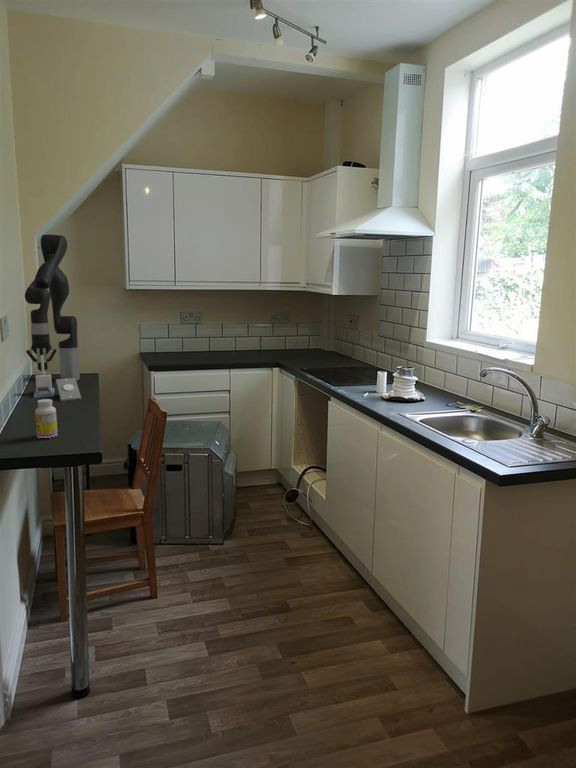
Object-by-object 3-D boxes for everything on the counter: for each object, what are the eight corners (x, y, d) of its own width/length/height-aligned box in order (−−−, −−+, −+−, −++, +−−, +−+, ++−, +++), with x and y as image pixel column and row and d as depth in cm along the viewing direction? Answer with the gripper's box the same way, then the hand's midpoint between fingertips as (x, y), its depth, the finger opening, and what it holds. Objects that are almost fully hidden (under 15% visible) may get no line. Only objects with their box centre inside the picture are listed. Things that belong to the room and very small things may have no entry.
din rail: (40, 388, 280) (39, 382, 279) (50, 387, 281) (49, 382, 281) (38, 394, 267) (37, 388, 267) (48, 393, 268) (48, 387, 268)
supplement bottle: (36, 435, 206) (34, 399, 204) (57, 433, 209) (54, 397, 207) (37, 440, 200) (34, 403, 198) (58, 438, 203) (55, 401, 201)
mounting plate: (36, 391, 280) (36, 388, 279) (54, 390, 282) (54, 387, 282) (33, 397, 267) (33, 394, 266) (53, 396, 269) (52, 393, 269)
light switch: (61, 397, 259) (55, 377, 269) (60, 408, 262) (55, 387, 272) (81, 396, 263) (75, 376, 273) (80, 406, 266) (74, 386, 276)
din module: (37, 389, 276) (36, 374, 274) (51, 389, 277) (50, 373, 276) (36, 391, 271) (35, 376, 270) (51, 391, 273) (50, 375, 271)
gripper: (56, 331, 275) (59, 368, 278) (24, 332, 270) (27, 370, 274) (56, 333, 268) (58, 371, 271) (23, 334, 263) (25, 372, 267)
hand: (42, 370), depth 272 cm, fingers closed
